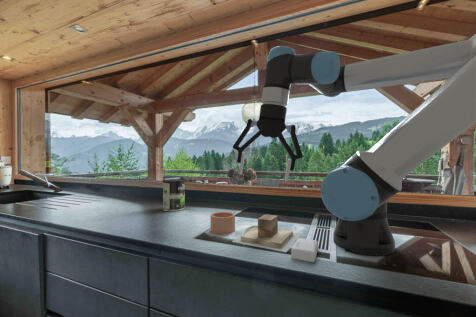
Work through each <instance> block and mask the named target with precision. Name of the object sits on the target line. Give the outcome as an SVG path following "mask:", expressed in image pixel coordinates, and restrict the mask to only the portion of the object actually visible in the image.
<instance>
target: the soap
mask: <svg viewBox="0 0 476 317" xmlns="http://www.w3.org/2000/svg"><path fill="white" fill-rule="evenodd" d="M290 250H291V251H290V256H291V257H290V258H291V259H295V260H301V261H306V262H311V263H312V262H313V263H314V262H315V261H316V259H317V254H318V250H319V241H318V240H316V239H308V238H300V237H299V238H298V239H297V240H296V241H295V242H294V244H293V245H292V247H291V249H290Z"/></svg>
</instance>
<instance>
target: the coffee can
mask: <svg viewBox="0 0 476 317" xmlns="http://www.w3.org/2000/svg"><path fill="white" fill-rule="evenodd" d="M185 183H186V180H185V179H184V178H173V179H171V178H170V179H169V178H168V179H163V180H162V207H163V208H162V210H163V211H164V212H180V211H184V210H185V208H186V202H185V201H186V200H185V197H186V194H185V192H186V186H185V185H186V184H185Z"/></svg>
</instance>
